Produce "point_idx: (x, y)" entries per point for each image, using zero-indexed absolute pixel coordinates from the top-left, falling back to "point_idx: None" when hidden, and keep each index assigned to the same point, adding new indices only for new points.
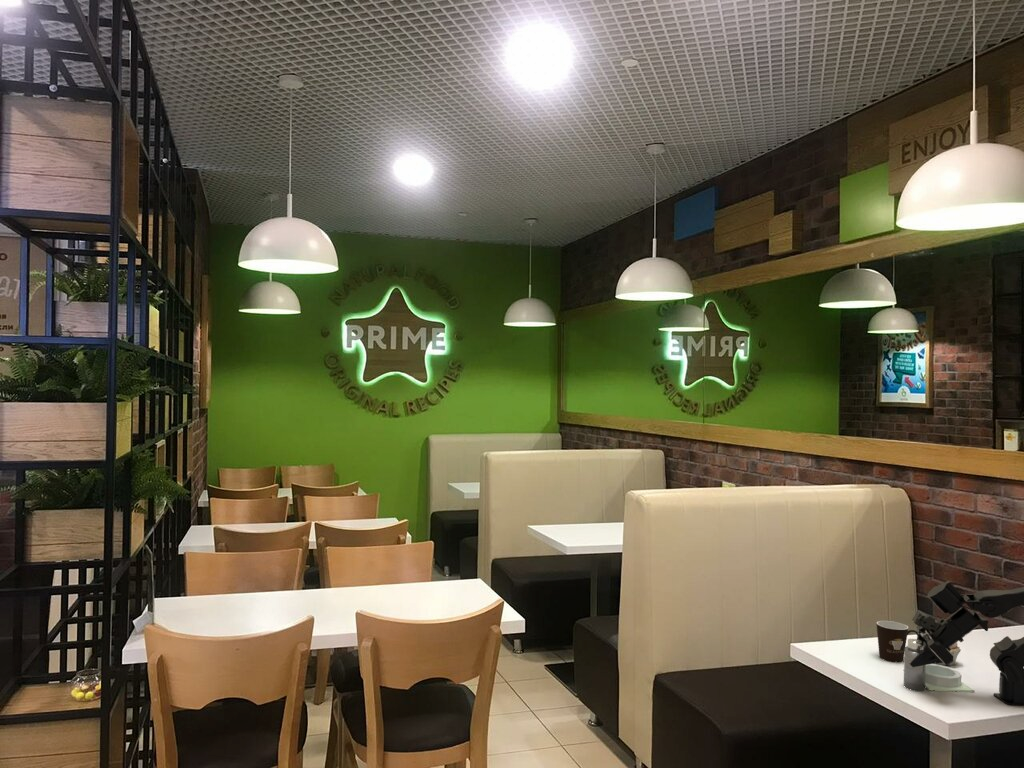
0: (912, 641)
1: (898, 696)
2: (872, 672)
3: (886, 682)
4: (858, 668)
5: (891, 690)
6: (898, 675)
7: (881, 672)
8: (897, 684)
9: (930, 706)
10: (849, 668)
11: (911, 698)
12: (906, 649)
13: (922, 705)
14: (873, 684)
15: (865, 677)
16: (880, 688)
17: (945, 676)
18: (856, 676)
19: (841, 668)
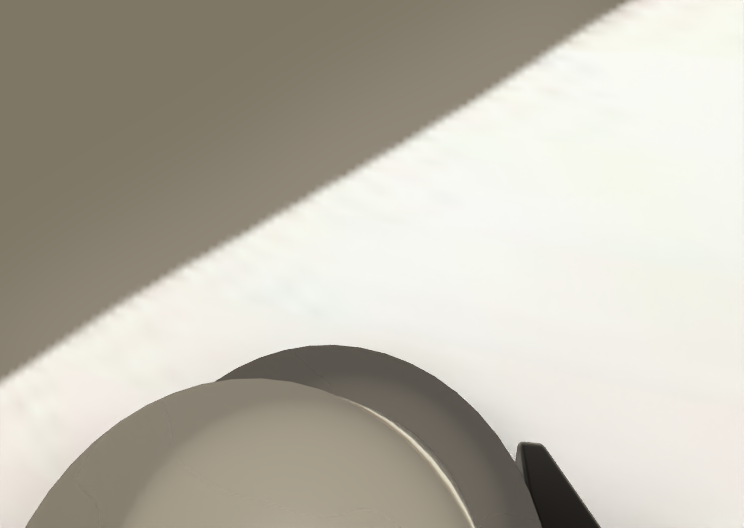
0: (163, 502)
1: (172, 304)
2: (659, 213)
3: (445, 278)
4: (711, 124)
5: (278, 280)
6: (692, 426)
7: (702, 285)
8: (428, 356)
9: (16, 492)
10: (672, 65)
11: (149, 389)
12: (326, 374)
13: (30, 434)
14: (367, 180)
15: (503, 148)
16: (299, 213)
17: None
18: (499, 94)
19: (640, 18)
